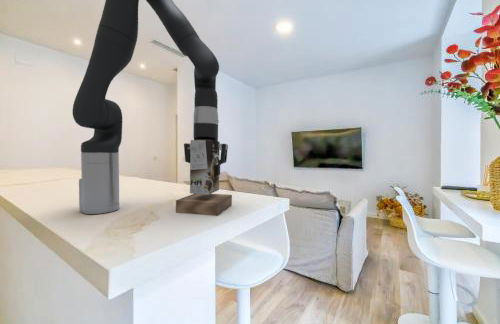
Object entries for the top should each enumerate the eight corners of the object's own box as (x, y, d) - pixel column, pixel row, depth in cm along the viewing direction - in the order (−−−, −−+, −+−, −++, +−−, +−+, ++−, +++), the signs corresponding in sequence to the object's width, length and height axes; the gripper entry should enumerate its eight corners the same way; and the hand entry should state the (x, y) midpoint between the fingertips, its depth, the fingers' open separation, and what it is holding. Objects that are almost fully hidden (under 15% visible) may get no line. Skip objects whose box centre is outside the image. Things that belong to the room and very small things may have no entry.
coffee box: (209, 195, 64) (209, 139, 64) (189, 193, 66) (189, 139, 65) (220, 189, 73) (220, 141, 73) (201, 189, 75) (202, 141, 74)
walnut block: (175, 213, 65) (175, 200, 65) (196, 204, 78) (196, 192, 77) (217, 217, 62) (217, 203, 62) (231, 206, 75) (231, 194, 74)
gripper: (178, 121, 66) (178, 177, 67) (224, 121, 63) (223, 179, 64) (190, 125, 74) (190, 174, 74) (231, 124, 71) (231, 176, 71)
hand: (205, 176), depth 69 cm, fingers closed on coffee box, 6 cm apart
